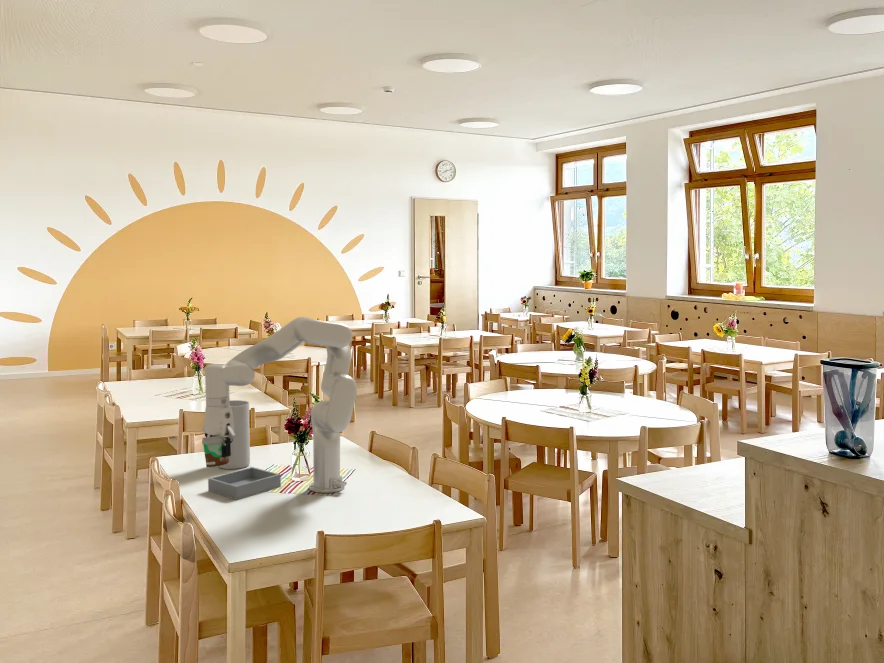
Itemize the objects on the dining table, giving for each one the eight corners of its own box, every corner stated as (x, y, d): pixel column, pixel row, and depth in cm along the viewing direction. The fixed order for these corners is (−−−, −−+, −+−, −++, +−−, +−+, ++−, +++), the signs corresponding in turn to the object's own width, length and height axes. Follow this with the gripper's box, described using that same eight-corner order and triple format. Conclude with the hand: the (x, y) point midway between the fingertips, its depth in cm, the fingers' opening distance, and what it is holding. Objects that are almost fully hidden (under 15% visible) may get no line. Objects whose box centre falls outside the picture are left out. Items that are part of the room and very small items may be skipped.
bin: (280, 486, 285) (280, 474, 285) (236, 499, 269) (236, 486, 269) (252, 478, 294) (252, 466, 294) (208, 490, 279) (208, 478, 278)
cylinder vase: (256, 464, 314) (255, 402, 312) (232, 471, 304) (231, 407, 301) (235, 459, 321) (234, 399, 318) (210, 466, 311) (209, 403, 308)
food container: (221, 468, 255) (218, 438, 254) (204, 468, 257) (201, 438, 256) (239, 458, 267) (237, 429, 266) (223, 458, 269) (220, 429, 268)
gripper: (244, 403, 258) (245, 456, 260) (210, 397, 268) (212, 448, 270) (225, 406, 252) (226, 461, 254) (191, 400, 262) (193, 453, 264)
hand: (219, 454), depth 262 cm, fingers closed on food container, 6 cm apart
